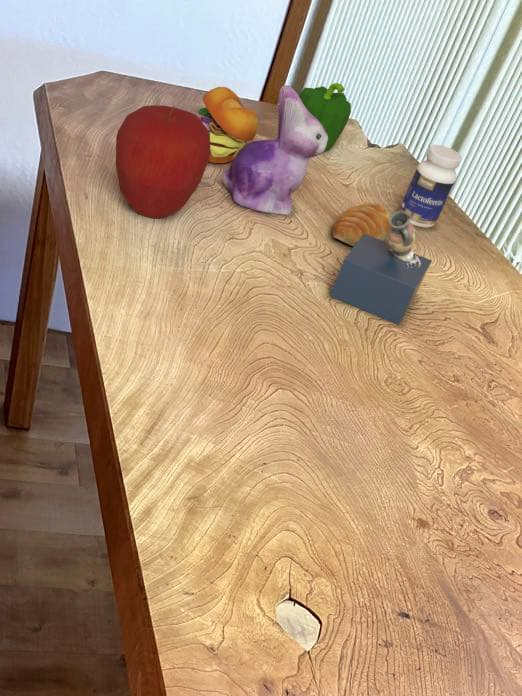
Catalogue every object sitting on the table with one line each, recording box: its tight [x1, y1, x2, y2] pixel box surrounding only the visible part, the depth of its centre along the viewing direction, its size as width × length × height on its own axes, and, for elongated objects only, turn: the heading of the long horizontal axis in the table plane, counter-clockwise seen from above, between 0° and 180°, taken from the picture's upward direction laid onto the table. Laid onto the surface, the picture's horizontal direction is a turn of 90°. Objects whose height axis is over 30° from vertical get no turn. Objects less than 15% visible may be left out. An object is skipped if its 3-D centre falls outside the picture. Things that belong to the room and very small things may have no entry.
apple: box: [115, 104, 211, 219], centre depth 112 cm, size 12×12×13 cm
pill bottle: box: [398, 144, 463, 229], centre depth 128 cm, size 6×6×10 cm
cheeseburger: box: [191, 86, 259, 164], centre depth 132 cm, size 10×11×10 cm
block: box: [329, 234, 433, 325], centre depth 110 cm, size 9×9×5 cm
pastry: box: [331, 201, 391, 247], centre depth 121 cm, size 9×7×4 cm
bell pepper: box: [298, 82, 352, 152], centre depth 141 cm, size 8×8×10 cm
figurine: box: [221, 84, 328, 216], centre depth 120 cm, size 9×10×15 cm
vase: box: [381, 207, 421, 268], centre depth 106 cm, size 5×5×6 cm
